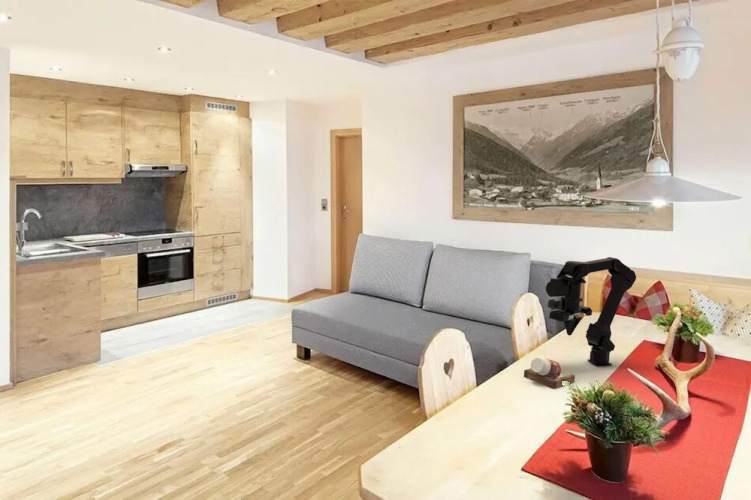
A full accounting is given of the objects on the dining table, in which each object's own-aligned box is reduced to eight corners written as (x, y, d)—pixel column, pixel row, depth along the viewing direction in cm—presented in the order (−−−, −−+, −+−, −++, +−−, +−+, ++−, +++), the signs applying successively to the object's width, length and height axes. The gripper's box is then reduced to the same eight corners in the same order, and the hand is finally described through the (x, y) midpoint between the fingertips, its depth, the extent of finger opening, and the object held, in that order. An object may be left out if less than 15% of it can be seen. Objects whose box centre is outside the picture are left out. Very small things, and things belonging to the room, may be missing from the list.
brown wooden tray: (544, 370, 196) (544, 364, 196) (574, 382, 186) (574, 375, 186) (523, 376, 190) (524, 370, 190) (553, 388, 179) (554, 382, 179)
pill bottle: (564, 364, 187) (546, 358, 181) (560, 380, 187) (541, 376, 180) (550, 359, 192) (532, 354, 186) (545, 375, 192) (527, 370, 185)
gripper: (568, 288, 207) (566, 326, 210) (538, 293, 197) (535, 333, 199) (594, 293, 198) (591, 333, 200) (563, 299, 188) (560, 341, 190)
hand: (569, 335), depth 198 cm, fingers closed
